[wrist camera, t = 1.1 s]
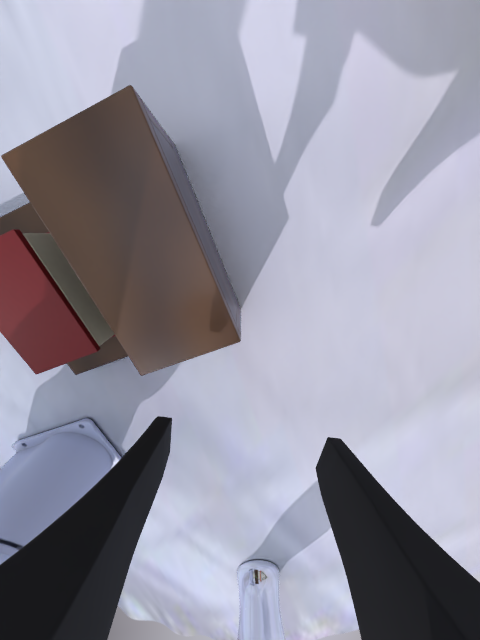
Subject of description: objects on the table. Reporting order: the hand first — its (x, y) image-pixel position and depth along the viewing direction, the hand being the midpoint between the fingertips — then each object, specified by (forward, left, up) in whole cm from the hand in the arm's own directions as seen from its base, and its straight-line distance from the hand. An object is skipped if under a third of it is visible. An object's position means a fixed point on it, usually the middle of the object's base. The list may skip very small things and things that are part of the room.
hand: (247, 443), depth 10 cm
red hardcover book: (-11, +9, -8) cm, 16 cm away
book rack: (-7, +9, -10) cm, 15 cm away
